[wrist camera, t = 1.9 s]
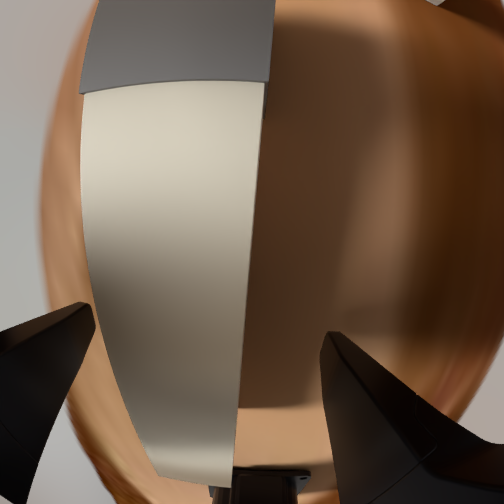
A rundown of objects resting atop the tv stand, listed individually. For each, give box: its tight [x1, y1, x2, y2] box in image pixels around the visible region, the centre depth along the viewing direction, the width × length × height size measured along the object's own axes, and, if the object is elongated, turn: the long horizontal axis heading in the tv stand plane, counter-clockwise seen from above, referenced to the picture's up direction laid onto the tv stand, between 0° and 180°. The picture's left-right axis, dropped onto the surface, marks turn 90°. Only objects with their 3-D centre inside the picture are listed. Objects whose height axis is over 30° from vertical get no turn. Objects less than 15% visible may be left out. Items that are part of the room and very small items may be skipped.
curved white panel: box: [79, 0, 276, 488], centre depth 6 cm, size 14×3×4 cm, turn 175°
